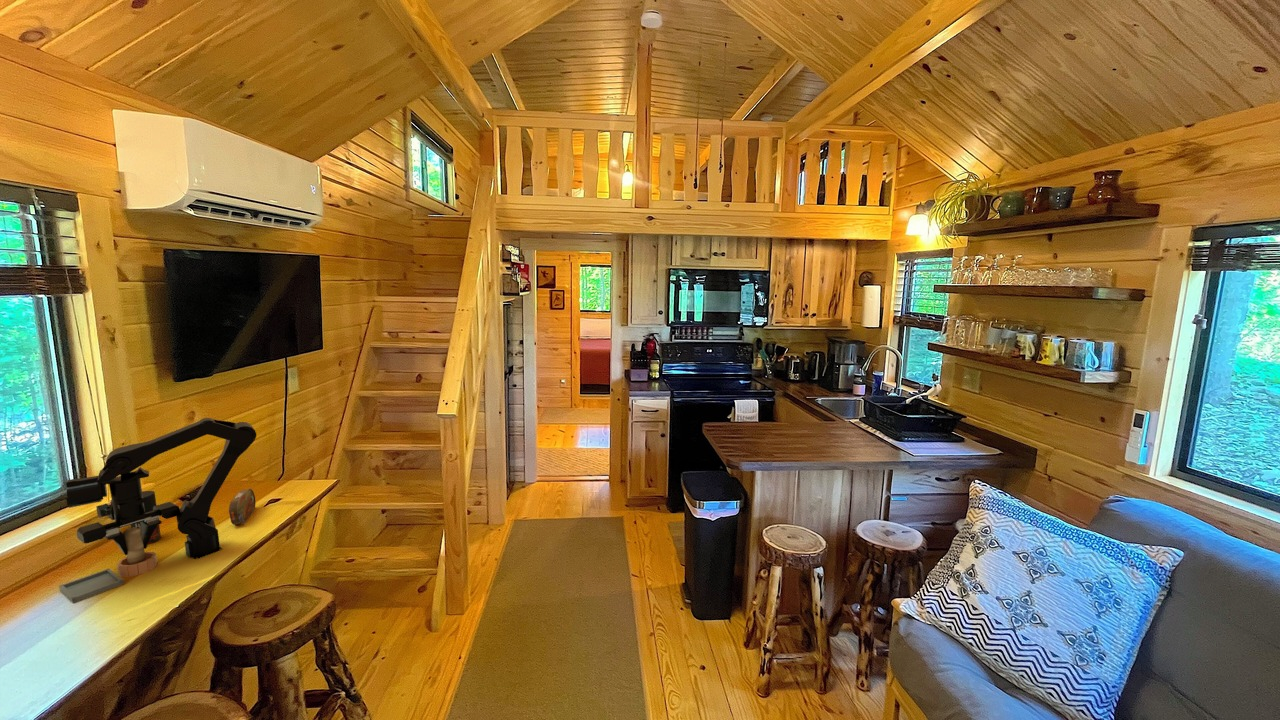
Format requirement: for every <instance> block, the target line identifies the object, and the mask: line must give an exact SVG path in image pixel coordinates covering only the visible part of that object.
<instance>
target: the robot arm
mask: <svg viewBox="0 0 1280 720" xmlns="http://www.w3.org/2000/svg"><path fill="white" fill-rule="evenodd" d="M207 435H209V436H213V437H216V438H219V439H223V440H225V441H224V445H223V450H222V451H221V454H220V455H219V457H218V459H217V460H216V461H215V463H214V465H213V467H212V468H211V470H210V471H209V474H208V475H207V477H206V478H205V480H204V482H203V484H202V485H201V486H200V489H199V490H198V492H197V493H196V495H195V496H194V497H193V498H192V499H191V500H190V501H188V500H186V499H184V500H183V502H182V505H181V507H180V506H179V505H177V504H175V503H173V502H171V501H167V502H164V503H160V504H156V506H154V507H153V511H150V512H147V513H145V509H144V502H145V501H144V498H143V495H142V491H143V488H142V482H141V479H143V478H145V479H146V478H149V477H150V471H149V470H147V469H144V468H142V466H144V464H146V463H147V462H149V461H150V460H152V459H153V458H155V457H157V456H158V455H160V454H163V453H166V452H168V451H170V450H172V449H175V448H178V447H180V446H182V445H184V444H187V443H190V442H192V441H194V440H196V439H199V438H202V437H204V436H207ZM256 439H257V432H256V430H255V428H254V427H253V426H252V425H251V423H249V422H247V421H239V422H234V421H233V422H232V421H228V420H227V421H226V420H220V419H214V418H211V417H204V418H202V419H200V420H199V421H196V422H193V423H192V424H191V423H190V424H188V425H186V426H183V427H181V428H179V429H176V430H174V431H171V432H169V433H166V434H164V435H161V436H158V437H156V438H154V439H151V440H148V441H144V442H138V443H132V444H130V445H129V444H128V445H125V446H121V447H118V448H115V449H113V450H111V451H110V452H109V453H108V455H107V457H106V459H105V464H104V466H103V468H102V469H101V470H99V472H98V475H93V476H89V477H82V478H72V479H68V480H66V482H65V484H66V496H65V500H66V505H67V507H68V508H69V509H70V508H74V507H81V506H85V505H91V504H95V503H96V504H97V503H100V502H102V500H104V498H106V497H108V489H107V488H108V487H107V485H109V491H110V497H111V500H110V501H111V502H110V504H111V505H109V503H103V504H99V505H96V514H97V518H99V519H100V518H104V517H108V519H110V520H111V521H113V522H108V523H106V524H102V523H100V522H98V521H97V522H93V523H90V524H87V525H83V526H79V527H78V529H77V530H76V537H77V539H78V540H79V541H81V542H82V543H83V544H91V543H93V542H96V541H100V540H103V539H104V538H105V539H106V540H113V541H114V543H115V544H116V546H117V547H118V548H119V550H120V551H121V552H122V553H123V554H124V555H125V556H127V554H128V552H127V546H126V542H125V538H124V534H123V531H121V530H120V529H121V528H124V527H128V526H131V525H132V524H135V523H138V522H140V524H141V531H142V538H143V544H144V550H145V549H147V547H148V545H149V544H148V543H149V541H150V538H151V536H152V534H153V532H154V530H155V529H156V527H157V525H159V526H160V525H161V524H162V523H163V522H162V520H160V517H162V518H163V519H166V520H168V519H172V518H174V517H176V524H177V529H178V532H180V533H181V534H183V535H186V536H185V537H186V541H185V542H184V549H185V555H186V556H187V557H188V558H191V559H193V560H198V559H201V558H204V557H206V556H207V557H208V555H212V554H214V553H217V552H220V551H222V550H223V548H222V547H221V545H220V537H219V529H218V528H217V527H216V523H215V519H214V517H211V516H210V515H209V514H210V510H211V506H212V503H213V501H214V499H215V498H216V496H217V494H218V493H219V491H220V489H221V488H222V486H223V484H224V483H225V480H226V479H227V477H228V475H229V474H230V472H231V471H232V470H233V469H232V468H233V467H234V466H235V464H236V462H237V460H238V459H239V457H240V456H241V455H243V454H244V453H245V452H246V451H247V450H248V449H249V448H250V446H252V444H254V442H255V440H256Z"/></svg>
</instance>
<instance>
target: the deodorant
mask: <svg viewBox="0 0 1280 720" xmlns="http://www.w3.org/2000/svg"><path fill="white" fill-rule="evenodd" d="M142 495H143V498H144V501H145V502H144V509H145V513H147V512H150V511H153V507H154V506H156V505H157V500H156V493H155V491H154V490H142ZM133 527H141V524H140V522H138V523H135V524H132V525H130V528H133ZM161 538H162V536H161V528H160V524H159V525H157V527H156V529H155V530H154V532H153V534H152V536H151V538H150V541H149V543H148V545H151V544H154V543H157V542H159V541H160V540H161Z"/></svg>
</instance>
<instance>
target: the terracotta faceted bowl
mask: <svg viewBox="0 0 1280 720" xmlns="http://www.w3.org/2000/svg"><path fill="white" fill-rule="evenodd" d="M145 558H146V561H143V562H140V563H137V564H132V565H128V561H127V556H125V557H124V558H122V559H121V560H119V561H118V562H117V564H116V565H117V572H118V576H119V577H120V578H122V577H123V578H124V577H125V578H128V577H134V576H139V575H143V574H144V573H147V572H150V571H152V570H153V569H155V568H156V566H157V565H158V560H157V553H156V552H154V551H145Z"/></svg>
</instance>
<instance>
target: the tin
mask: <svg viewBox="0 0 1280 720" xmlns="http://www.w3.org/2000/svg"><path fill="white" fill-rule="evenodd" d="M255 509H256V495H255V492H254V490H253V489H252V488H248V489H242V490H240V491H239V492H238V493H237V494H236V495H235V497H233V498H232V500H231V501H230V502H229V506H228V513H229V517H230V523H231V524H232V525H233V526H235V525H237V526H238V525H241V524H243V525H244V524H245V523H246V522H247V521H248V520H249V518H250V517H251V516H252V515H253V514H254V512H255Z"/></svg>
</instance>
